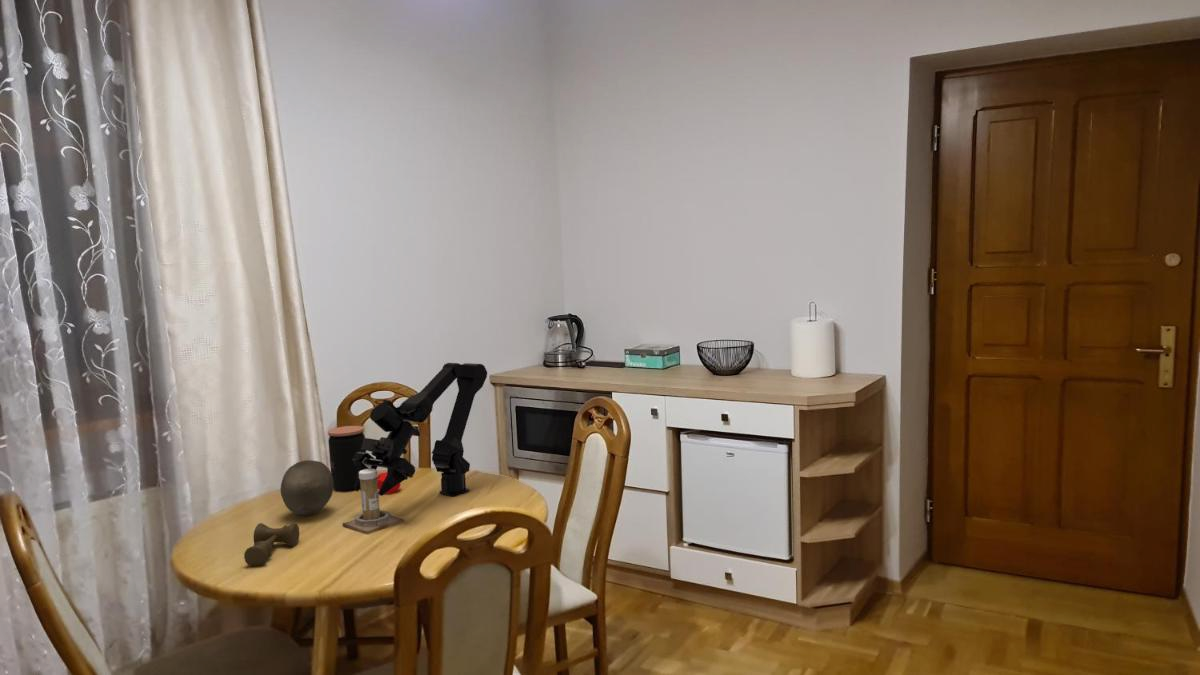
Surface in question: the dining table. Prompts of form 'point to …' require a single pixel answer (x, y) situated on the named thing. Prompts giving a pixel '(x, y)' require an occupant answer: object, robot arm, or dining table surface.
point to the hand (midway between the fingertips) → (367, 492)
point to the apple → (381, 479)
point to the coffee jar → (345, 455)
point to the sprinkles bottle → (369, 494)
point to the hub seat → (372, 523)
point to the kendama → (269, 542)
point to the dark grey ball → (307, 487)
